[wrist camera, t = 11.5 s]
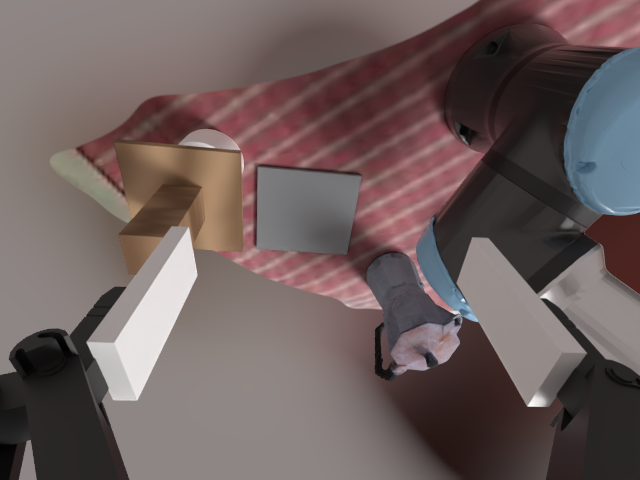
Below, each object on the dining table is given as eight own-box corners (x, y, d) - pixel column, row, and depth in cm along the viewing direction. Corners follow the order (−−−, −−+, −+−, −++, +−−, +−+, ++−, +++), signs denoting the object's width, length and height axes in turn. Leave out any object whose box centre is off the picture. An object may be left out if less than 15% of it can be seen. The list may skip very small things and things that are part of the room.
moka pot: (439, 256, 58) (496, 350, 41) (382, 310, 64) (410, 411, 47) (398, 230, 54) (442, 321, 38) (342, 290, 61) (358, 391, 44)
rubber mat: (361, 174, 49) (361, 176, 48) (346, 252, 56) (346, 254, 56) (258, 165, 47) (257, 167, 47) (257, 246, 55) (256, 248, 54)
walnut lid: (241, 150, 34) (219, 196, 25) (243, 246, 41) (226, 312, 31) (118, 139, 33) (47, 183, 24) (140, 240, 39) (91, 306, 30)
